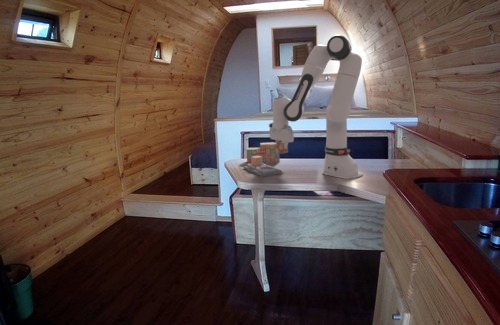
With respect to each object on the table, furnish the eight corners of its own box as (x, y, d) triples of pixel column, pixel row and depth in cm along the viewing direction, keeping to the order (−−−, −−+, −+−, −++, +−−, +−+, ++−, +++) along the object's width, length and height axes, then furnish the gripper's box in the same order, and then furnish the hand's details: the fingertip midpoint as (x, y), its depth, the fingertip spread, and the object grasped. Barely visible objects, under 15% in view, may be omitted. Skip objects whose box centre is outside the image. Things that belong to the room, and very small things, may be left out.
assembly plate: (281, 173, 178) (281, 160, 176) (262, 176, 172) (261, 163, 170) (261, 165, 197) (261, 153, 195) (243, 168, 191) (242, 156, 189)
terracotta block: (288, 152, 186) (287, 142, 185) (281, 153, 184) (280, 143, 183) (283, 151, 190) (282, 141, 189) (276, 152, 188) (275, 142, 187)
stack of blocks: (247, 163, 204) (246, 144, 201) (247, 161, 210) (246, 143, 207) (279, 162, 204) (279, 143, 201) (278, 160, 210) (278, 142, 207)
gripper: (296, 125, 176) (296, 149, 179) (275, 123, 194) (277, 145, 197) (286, 126, 173) (287, 151, 176) (267, 124, 191) (268, 146, 194)
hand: (282, 148), depth 187 cm, fingers closed on terracotta block, 5 cm apart
